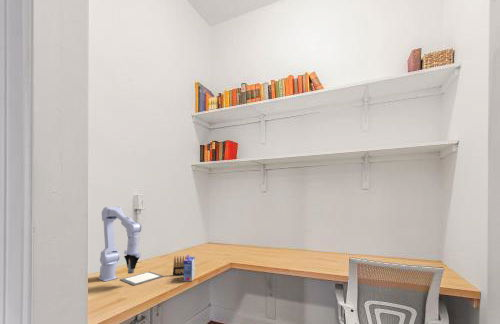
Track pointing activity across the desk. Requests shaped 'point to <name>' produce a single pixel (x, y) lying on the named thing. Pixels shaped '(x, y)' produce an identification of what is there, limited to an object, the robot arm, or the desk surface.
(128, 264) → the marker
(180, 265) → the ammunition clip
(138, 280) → the writing mat
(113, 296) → the desk surface
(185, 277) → the blue drink carton
